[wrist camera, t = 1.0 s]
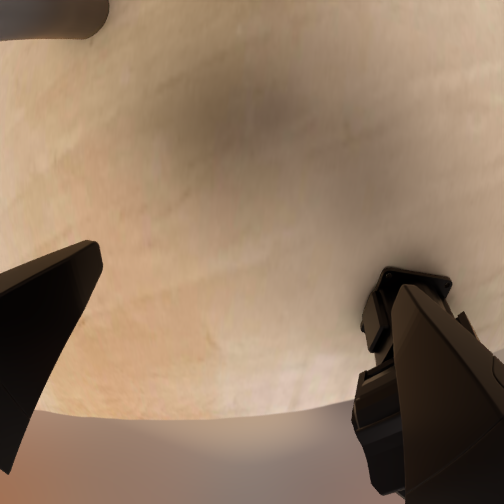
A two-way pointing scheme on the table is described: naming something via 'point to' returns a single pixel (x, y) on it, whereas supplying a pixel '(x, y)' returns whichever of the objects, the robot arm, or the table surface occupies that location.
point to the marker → (51, 19)
